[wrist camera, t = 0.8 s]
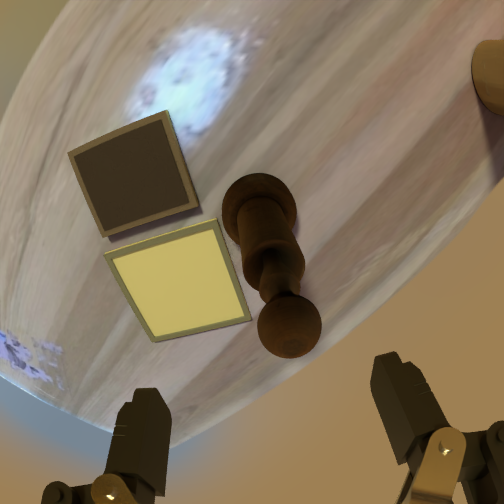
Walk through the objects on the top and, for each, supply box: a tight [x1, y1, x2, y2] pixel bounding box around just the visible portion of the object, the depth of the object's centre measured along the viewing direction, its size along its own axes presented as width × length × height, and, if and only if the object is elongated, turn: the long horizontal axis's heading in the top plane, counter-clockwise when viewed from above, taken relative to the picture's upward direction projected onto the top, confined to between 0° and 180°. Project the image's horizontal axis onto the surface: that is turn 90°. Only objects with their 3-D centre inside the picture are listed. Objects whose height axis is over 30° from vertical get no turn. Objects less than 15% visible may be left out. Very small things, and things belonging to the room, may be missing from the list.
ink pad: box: [68, 110, 199, 238], centre depth 26 cm, size 10×9×1 cm
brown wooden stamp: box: [222, 173, 322, 358], centre depth 21 cm, size 7×6×18 cm
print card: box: [104, 218, 252, 342], centre depth 32 cm, size 12×12×1 cm
